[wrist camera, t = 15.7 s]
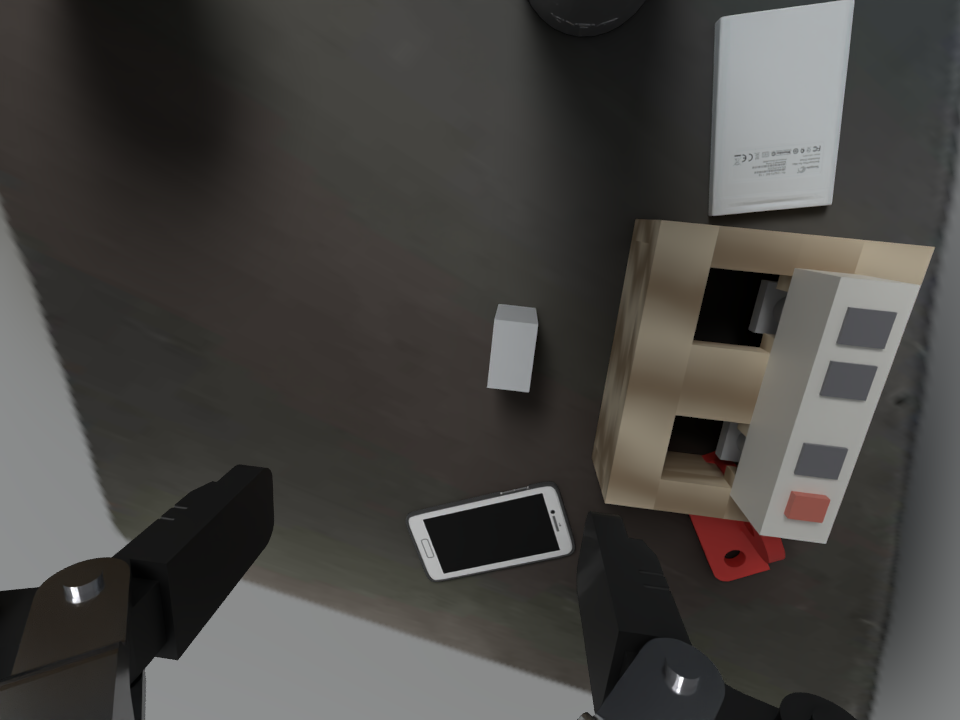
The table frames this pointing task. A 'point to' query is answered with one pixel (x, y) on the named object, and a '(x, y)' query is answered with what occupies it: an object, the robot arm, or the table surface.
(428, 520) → the cell phone
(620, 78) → the table surface
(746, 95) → the external hard drive
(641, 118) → the table surface
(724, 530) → the bracket
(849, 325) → the power strip
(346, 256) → the table surface
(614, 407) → the wooden block with holes
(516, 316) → the block
